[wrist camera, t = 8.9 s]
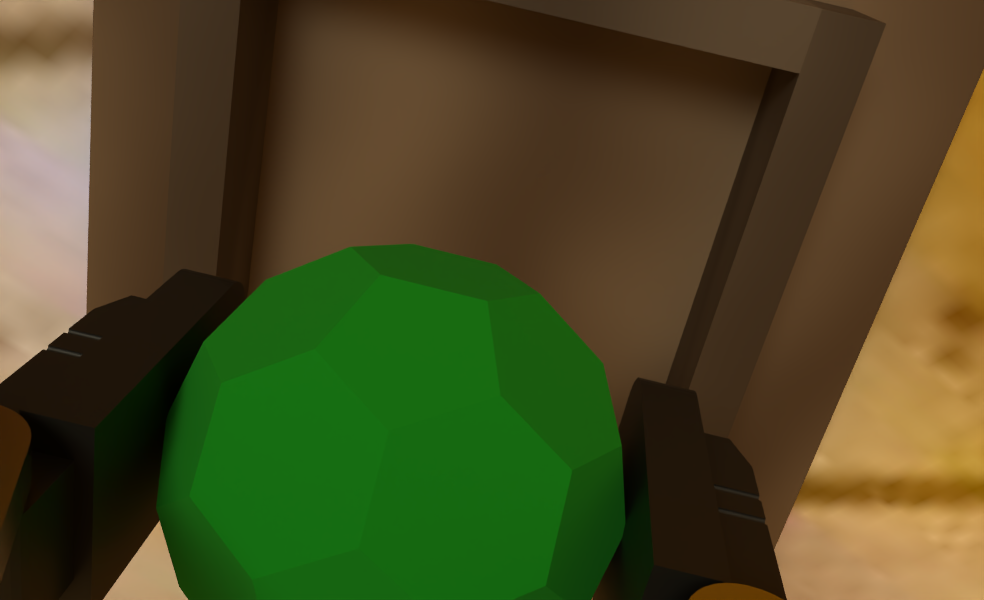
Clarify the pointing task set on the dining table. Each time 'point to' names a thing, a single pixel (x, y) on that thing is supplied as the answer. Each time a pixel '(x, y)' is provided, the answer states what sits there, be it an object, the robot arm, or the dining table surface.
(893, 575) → the dining table surface
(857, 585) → the dining table surface
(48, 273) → the dining table surface
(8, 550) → the robot arm
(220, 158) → the tray
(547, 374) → the polyhedron
